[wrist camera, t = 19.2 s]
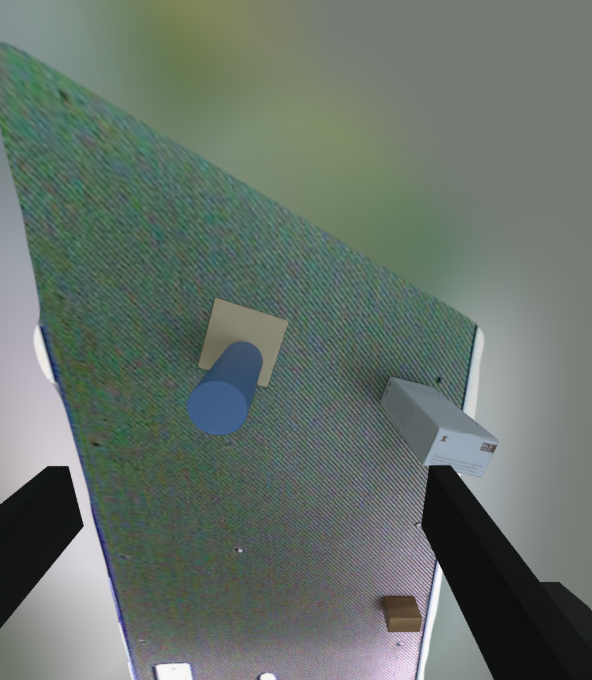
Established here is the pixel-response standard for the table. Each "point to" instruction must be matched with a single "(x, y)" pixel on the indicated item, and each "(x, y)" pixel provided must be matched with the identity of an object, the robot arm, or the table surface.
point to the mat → (243, 335)
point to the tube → (226, 390)
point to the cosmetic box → (437, 428)
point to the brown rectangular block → (401, 614)
